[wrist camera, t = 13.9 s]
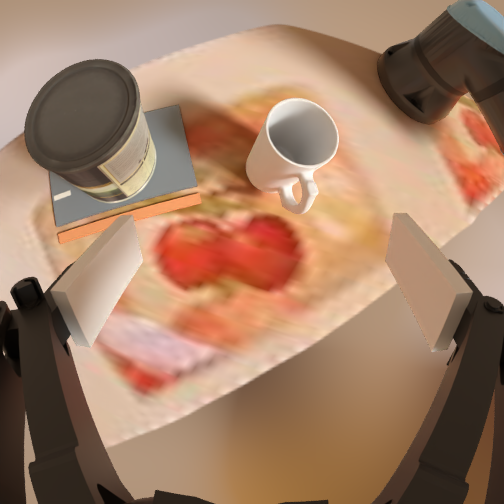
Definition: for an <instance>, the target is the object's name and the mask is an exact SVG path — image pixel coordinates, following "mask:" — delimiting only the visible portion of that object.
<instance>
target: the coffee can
mask: <svg viewBox="0 0 504 504" xmlns="http://www.w3.org/2000/svg"><path fill="white" fill-rule="evenodd" d="M24 133H25V142H26V146H27V149H28V152H29V153H30V155H31V157H32V158H33V159H34V161H35V162H36V163H38V164H39V165H40V166H42V167H43V168H45V169H47V170H49V171H52V172H54V173H55V174H57V175H59V176H60V177H61V178H63V179H65V180H66V181H68V182H69V183H71V184H73V185H74V186H76V187H77V188H79V189H80V190H82V191H83V192H85V193H87V194H88V195H89V196H90V197H92V198H93V199H95V200H97V201H100V202H103V203H118V202H123V201H126V200H128V199H130V198H132V197H134V196H135V195H137V194H138V193H139V192H140V191H141V190H142V189H143V188H144V187H145V186H146V185H147V184H148V182H149V181H150V179H151V177H152V175H153V173H154V170H155V166H156V157H157V156H156V149H155V145H154V142H153V140H152V138H151V135H150V132H149V129H148V125H147V122H146V119H145V115H144V112H143V109H142V105H141V102H140V93H139V88H138V85H137V82H136V80H135V78H134V76H133V75H132V74H131V72H130V71H129V70H128V69H127V68H125V67H124V66H122V65H121V64H119V63H116V62H113V61H109V60H102V59H95V60H87V61H82V62H79V63H76V64H74V65H71V66H69V67H67V68H65V69H64V70H62V71H61V72H59V73H58V74H56V75H55V76H54V77H52V78H51V79H50V80H49V81H48V82H47V83H46V84H45V85H44V86H43V87H42V88H41V90H40V91H39V93H38V94H37V96H36V97H35V99H34V100H33V102H32V104H31V107H30V109H29V111H28V114H27V117H26V122H25V130H24Z"/></svg>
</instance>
